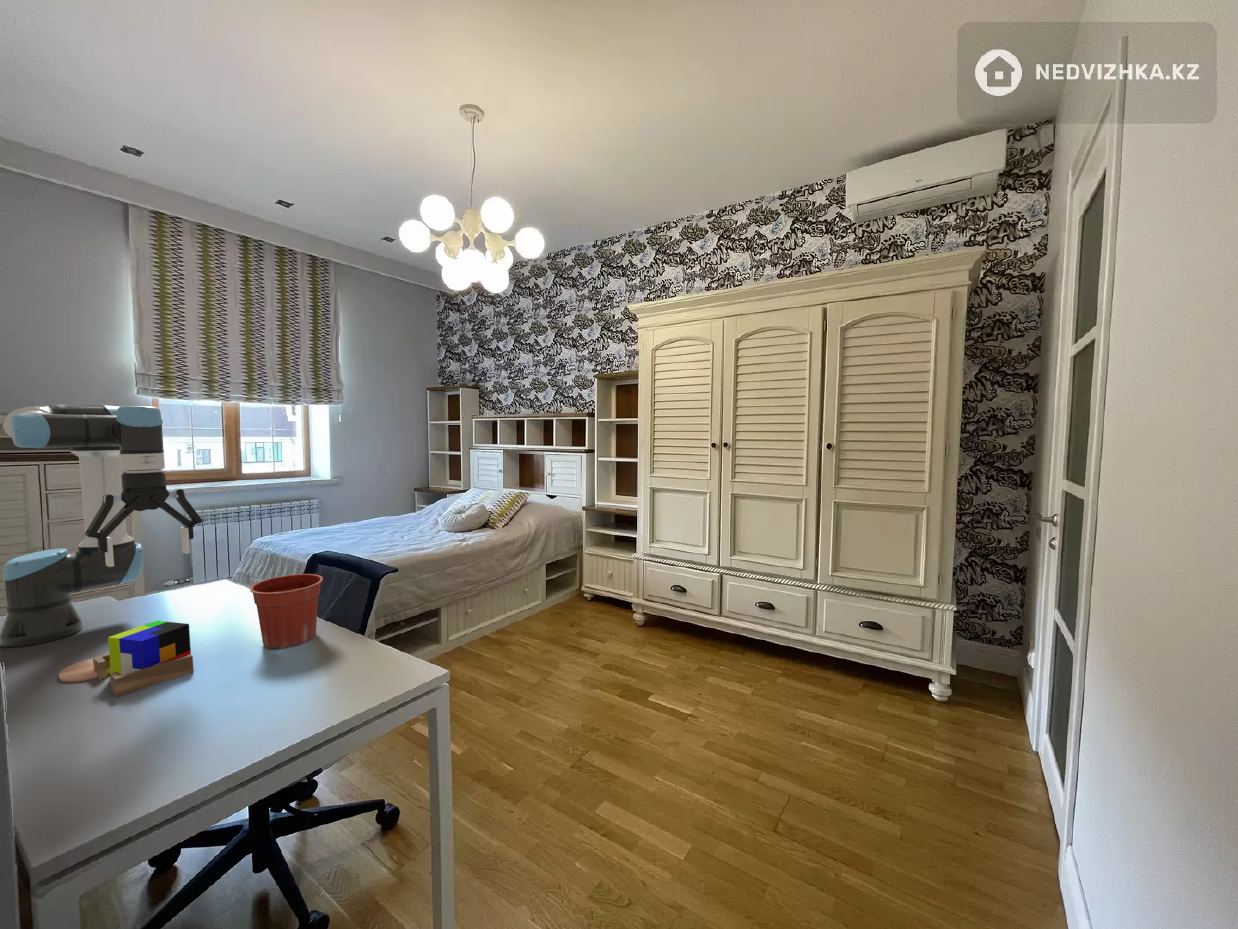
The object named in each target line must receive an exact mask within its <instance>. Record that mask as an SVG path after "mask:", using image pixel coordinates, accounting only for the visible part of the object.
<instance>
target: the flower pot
mask: <svg viewBox="0 0 1238 929" xmlns="http://www.w3.org/2000/svg"><path fill="white" fill-rule="evenodd" d="M323 581H324V580H323V576H321V575H318V574H314V573H313V574H311V573H298V574H296V573H295V574H288V575H287V574H286V575H281V576H275V577H271V578H268V579H264V580H262V581H261V580H260V581H258V582H256V583H254V584H253V585H251V586H250V588H249V591H250V592H251V593H252V596H253V601H254V602H253V603H254V604H255V605H256V610H257V616H258V622H259V626H260V627H259V628H260V629H259V630H260V634H261V640H262V641H261V642H262V645H263V646H264V648H268V649H273V650H278V649H279V650H280V649H287V648H289V647H290V646H300V645H303V644H305V643H307V642H310V641H311V640H313V639H314V638H315V636H316V634H317V622H318V607H319V595H320V593H321V583H322V582H323Z"/></svg>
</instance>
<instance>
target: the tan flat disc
mask: <svg viewBox="0 0 1238 929" xmlns="http://www.w3.org/2000/svg"><path fill="white" fill-rule="evenodd" d="M93 658H94V657H92V658H88V659H85V660H82V661H79V662H76V663H73V664H72V665H71V664H70V665H69V666H67V667H65V668H64V669H62V670H61V671H59V673H58V679H59V681H60V682H63V683H76V682H77V683H78V682H85V681H90V680H94V679H99V678H98V674H97V673H96V672H95V671H94V665H93ZM106 671H107V676H110V673H111V669H110V667H109V668H106Z"/></svg>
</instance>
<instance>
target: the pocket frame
mask: <svg viewBox="0 0 1238 929" xmlns="http://www.w3.org/2000/svg"><path fill="white" fill-rule="evenodd" d="M193 657H194V656H193V655H192V654H191V655H187V656H184V657H181V658H177V659H174V660H171V661H168V662H164V663H161V664H158V665H155V666H151V667H148V668H145V669H141V670H138V671H135V672H132V673H128V674H125V675H121V674H120V673H119V672H118V671H117V672H113V673H110V674H109V684H110V692H111V693H113V695H115V697H116V698H119V697H122V696H124V695H128V694H130V693H134V692H137V691H140V690H143V689H146V688H149V687H152V686H155V685H158V684H161V683H164V682H167V681H170V680H173V679H176V678H179V677H182V676H186V675H189V674H191V673H194V672H195V671H194V658H193ZM92 658H93V665H94V671H95V672H96V673H97V674H98V678H97V679H98V680H103V679H105V678H108V675H107V671H106V668H109V667H110V656H109V652H108V653H105V654H102V655H98V656H95V657H92Z"/></svg>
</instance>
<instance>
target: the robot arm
mask: <svg viewBox="0 0 1238 929" xmlns="http://www.w3.org/2000/svg"><path fill="white" fill-rule="evenodd" d="M1 425H2V430H3V432H4V433H5V434H6V435H7V436H8V437H9V438H11V439H12V442H13V445H14V447H18V448H21V449H22V448H27V449H29V448H30V449H31V448H32V449H45V448H46V449H47V448H48V449H49V448H69V449H70V451H69V452H70V453H71V454H73V455H74V456H76V457H78V462H79V475H80V486H81V487H80V488H81V500H82V513H83V525H84V536H85V538H84V539H83V540H82V541H81V542H80V543H79V544H78V545H77V547H78V548H77V551H74V552H69V550H68V549H67V548H62V547H61V548H53V549H47V550H46V549H45V550H40V551H35V552H30V553H27V554H24V555H20V556H17V557H14V558H12V559H9V561H7V562H6V563H4V565H3V577H2V582H4V594H5V596H4V597H5V606H6V607H5V608H6V617H5V619H4V622H3V624H2V627H1V630H0V647H3V648H18V647H26V646H27V647H28V646H33V645H39V644H42V643H47V642H51V641H54V640H58V639H62V638H65V637H68V636H71V635H73V634H75V633H78V632H79V631H81V630H83V626H84V625H83V618H82V617H81V615H80V614H79V612H78V610H77V609H76V608H75V606H74V604H73V602H72V594H75V593H81V592H85V591H90V590H95V589H96V590H97V589H102V588H107V587H113V586H116V587H117V586H120V585H123V584H128V583H133V582H134V581H136V580H137V579H138V578H139V577H140V575H141V572H142V570H143V563H144V552H143V549H144V548H143V546H142V544H141V543H138V542H135V537H133V536H131V535H129V534H128V533H127V520H126V518H127V517H128V516H130V515H131V514H132V513H133V512H134V511H137V512H144V511H147V510H152V511H154V510H158V509H159V508H160V509H161V510H163V511H164V512H166V513H167V514H168V515H170V516H171V517H172V518H173V519H176V521H178V522H179V523H180V524H182V525H183V526H180V528H179V529H180V541H181V543H180V545H181V553H182V554H185V555H188V554H191V548H190V540H193V539H194V538H195V536H194V534H195V533H194V527H195V525H198V524H201V523H202V522H203V520H202V518H201V516H200V515H199V514H198V512H197V511H196V510H195V509H194V507H193V506H192V504H191V503H190V502H189V501H188V499H187V498H186V495H185V491H184V489H182V488H175V489H172V490H168V488H167V480H166V479H167V477H166V472H165V471H163V470H165V467H166V466H165V454H164V438H163V418H162V413H161V409H159V407H157V406H147V405H145V406H143V405H141V406H140V405H122V406H121V405H120V406H119V405H118V406H115V405H107V404H106V405H105V404H69V403H67V404H65V403H64V404H61V403H42V404H33V405H27V406H22V407H17V408H15V409H13V410H11V411H9V412H8V413H7V414H5V415H4V417H3V418H2V422H1ZM123 472H124V473H123ZM169 496H171V497H172V498H173V499H175V500H176V501H177V503H178V504H179V505H180V507H181V508H182V509H183V510H184V512H185V513H186V515H187V516H188V517H189V518H190V519H188V518H187V517H186V516H184V515H183V514H182V513H180V512H179V511H177V510H176V509H175V508H174V507H172V506H171V505H170V504H169V503H167V502H166V500H167V499H168V497H169Z"/></svg>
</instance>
